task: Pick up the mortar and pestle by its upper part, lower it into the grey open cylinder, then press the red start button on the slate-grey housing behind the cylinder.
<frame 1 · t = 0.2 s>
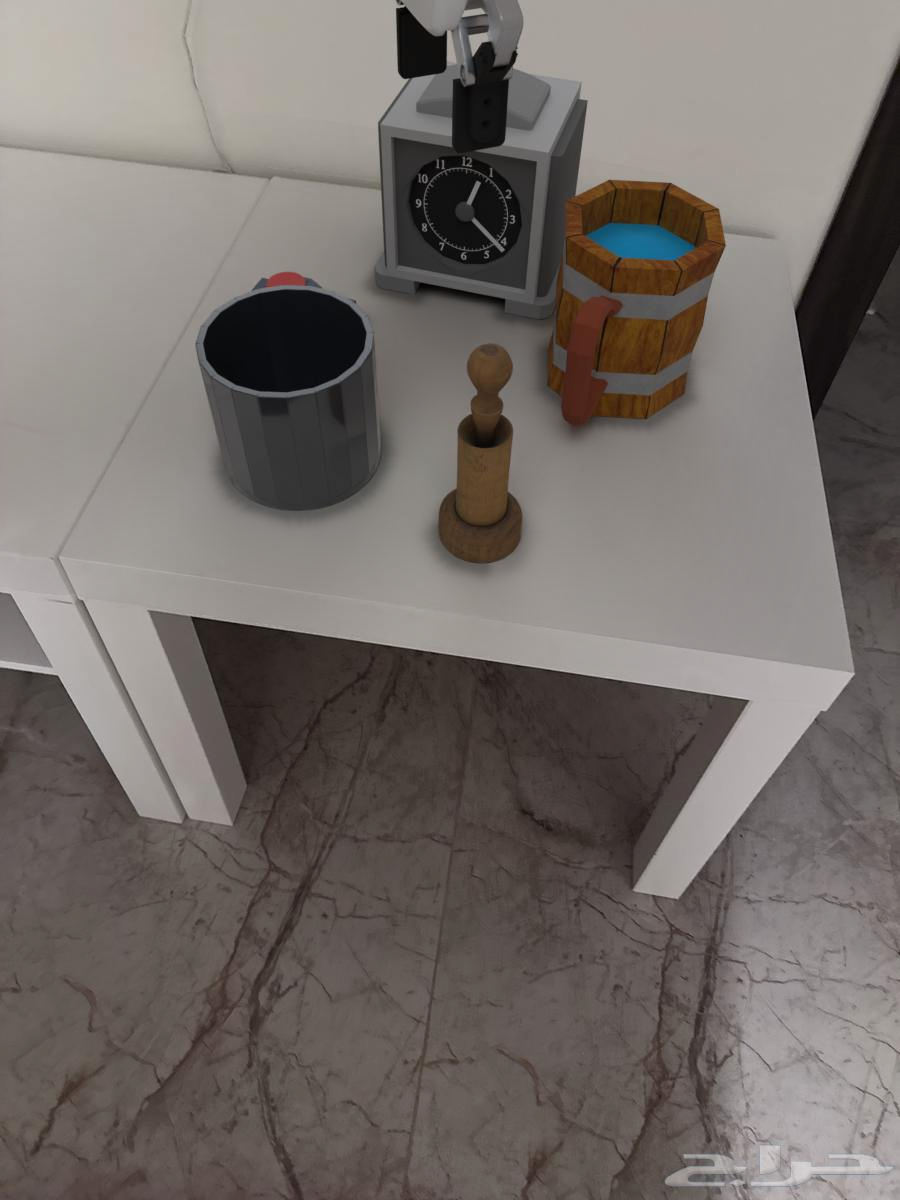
hand: (449, 109, 57), 28 cm above the table, tool pointing down, fingers open, 9 cm apart
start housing: (293, 331, 89), on the table
mug: (602, 392, 85), on the table
alarm clock: (477, 267, 96), on the table
mortar and pestle: (479, 533, 74), on the table
grey open cylinder: (303, 453, 79), on the table
start button: (287, 291, 85), point 4 cm above the table, slide at 0.1 cm
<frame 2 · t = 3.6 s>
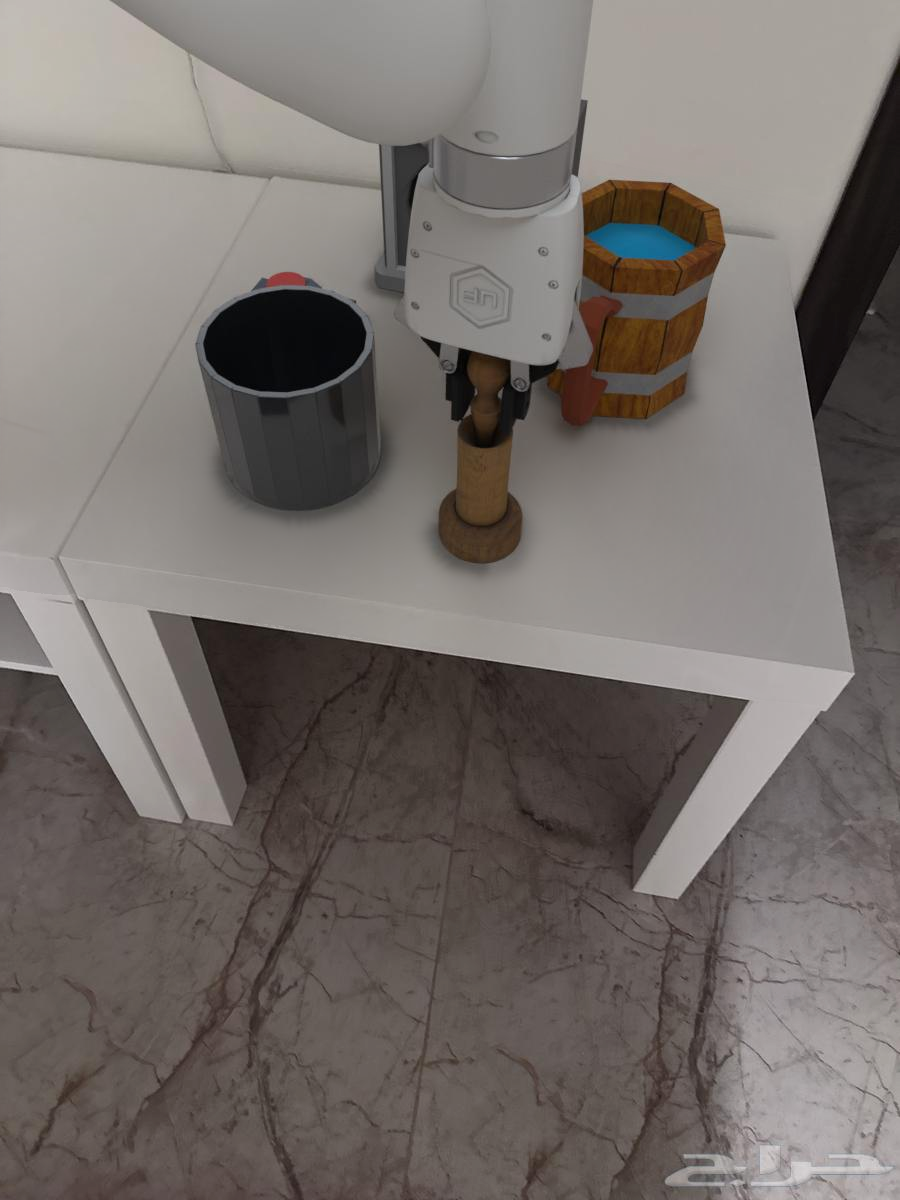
hand: (486, 413, 64), 13 cm above the table, tool pointing down, fingers closed on mortar and pestle, 2 cm apart
mortar and pestle: (479, 533, 74), on the table, touching gripper
everything else where it was.
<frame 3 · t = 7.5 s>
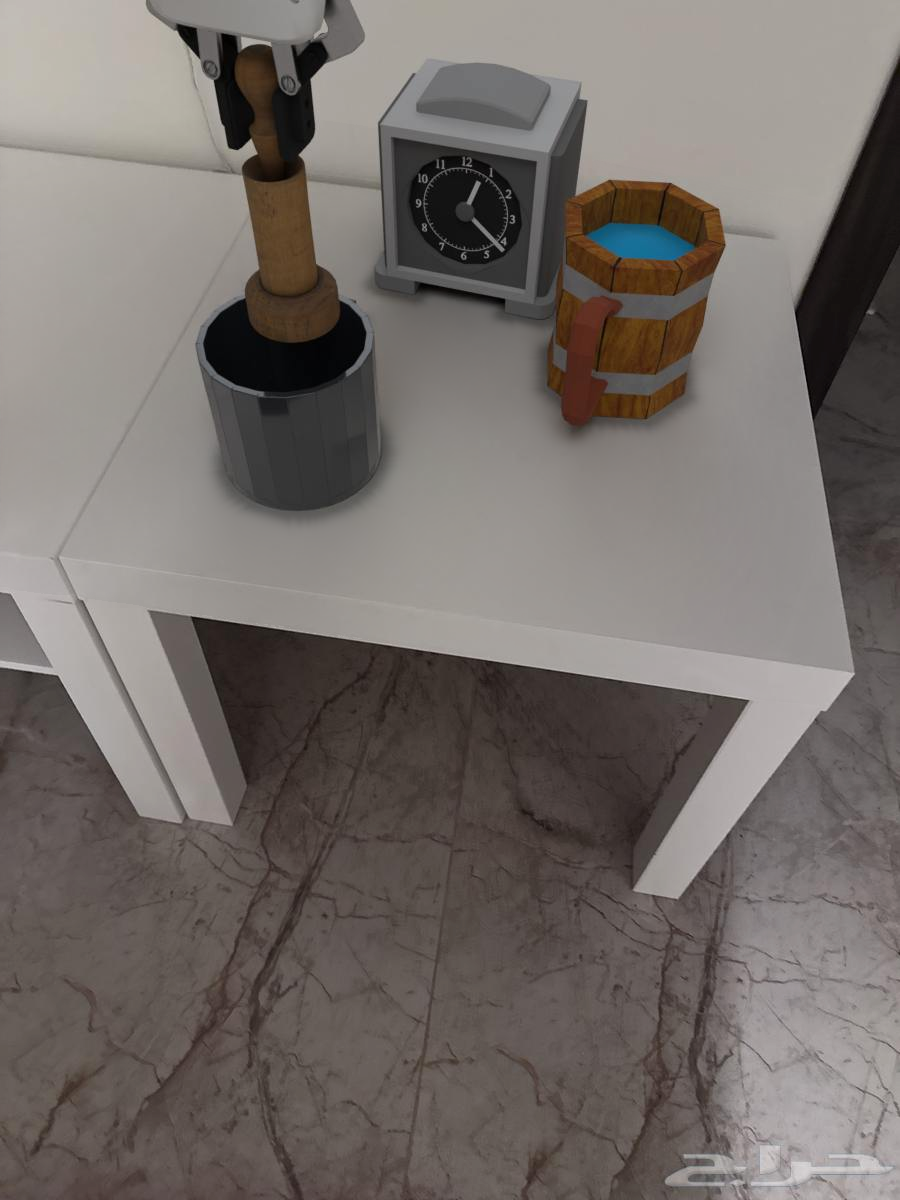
hand: (270, 142, 57), 27 cm above the table, tool pointing down, fingers closed on mortar and pestle, 2 cm apart
mortar and pestle: (295, 317, 67), point 14 cm above the table, touching gripper
everything else where it was.
when the fingers open (13 cm above the table, at t = 11.5 s): mortar and pestle stays where it is, resting on grey open cylinder.
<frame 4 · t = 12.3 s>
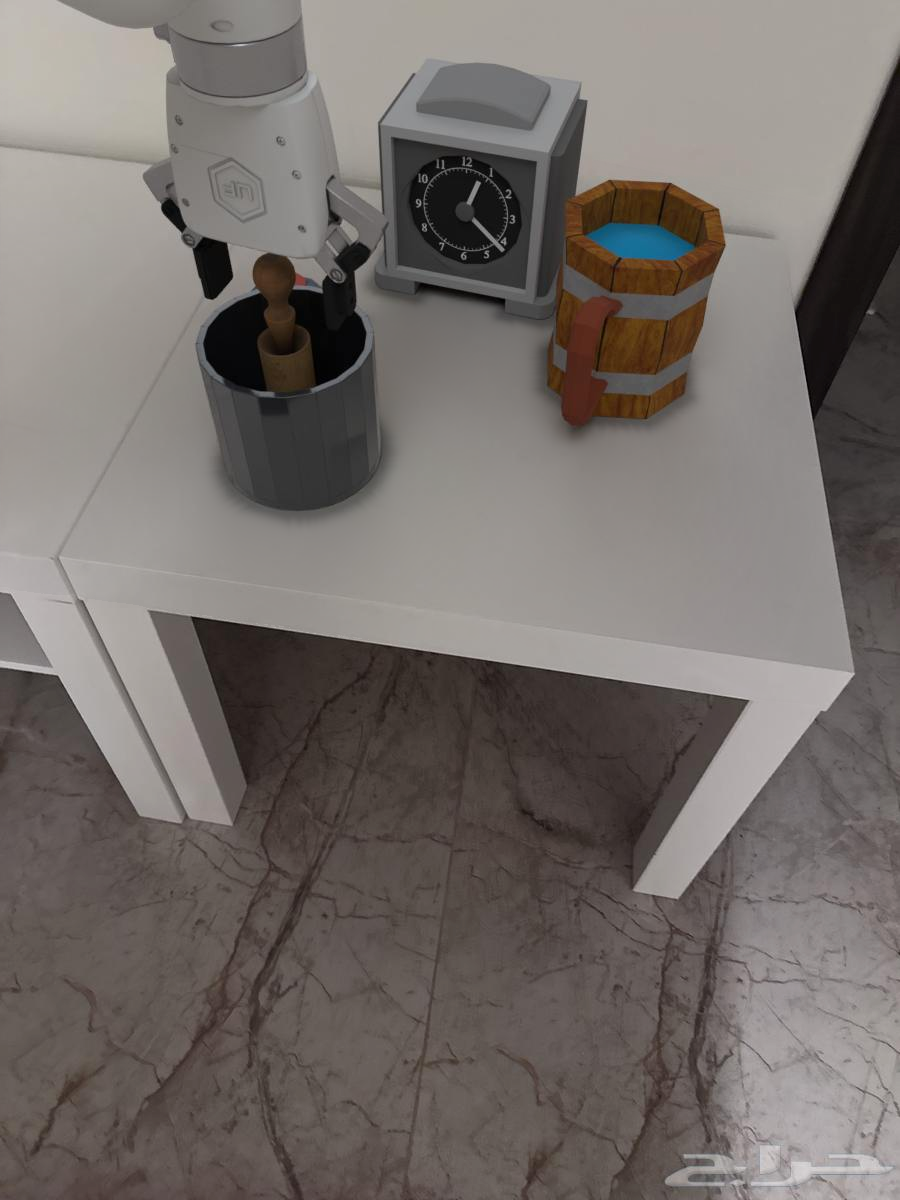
hand: (279, 303, 67), 15 cm above the table, tool pointing down, fingers open, 9 cm apart
mortar and pestle: (301, 448, 79), point 1 cm above the table, touching grey open cylinder
everything else where it was.
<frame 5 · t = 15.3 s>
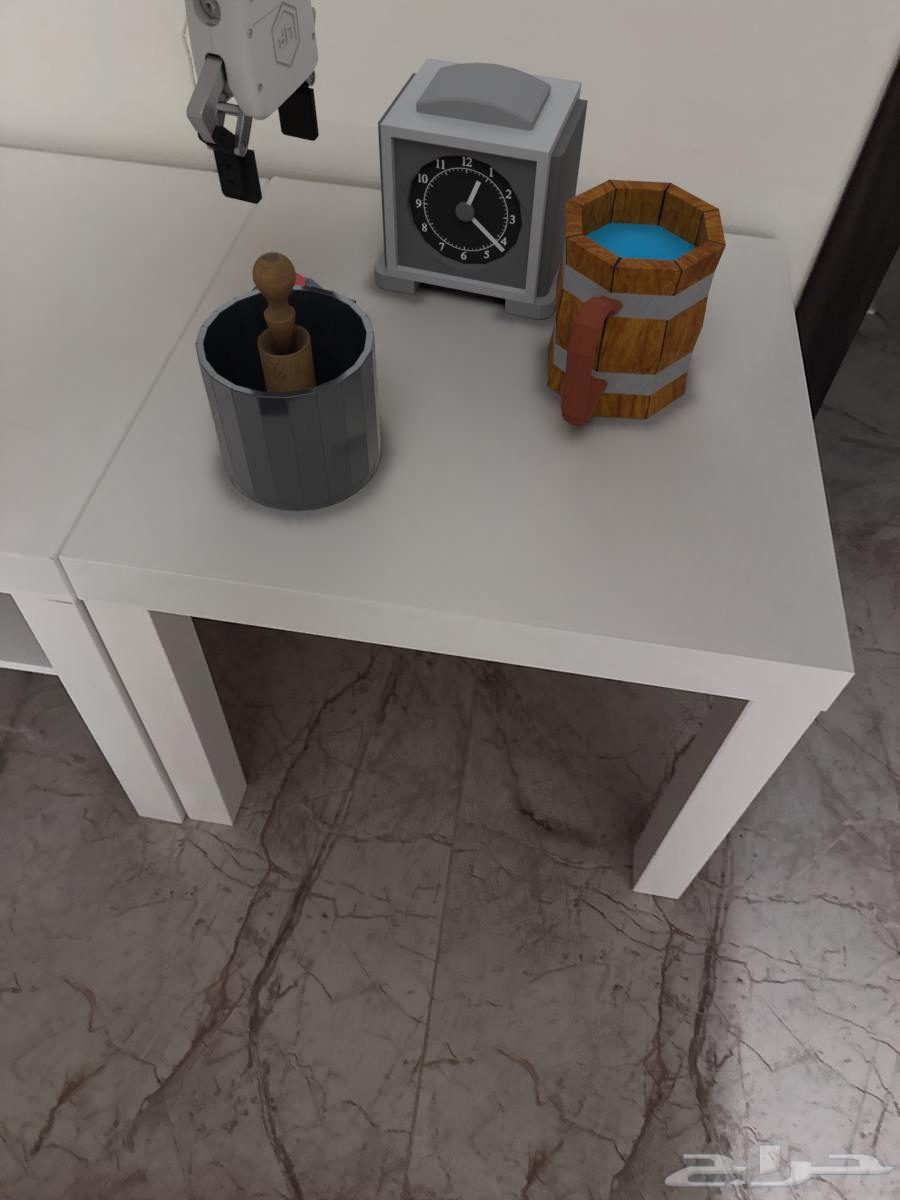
hand: (272, 166, 74), 17 cm above the table, tool pointing down, fingers open, 9 cm apart
nothing on the table moved.
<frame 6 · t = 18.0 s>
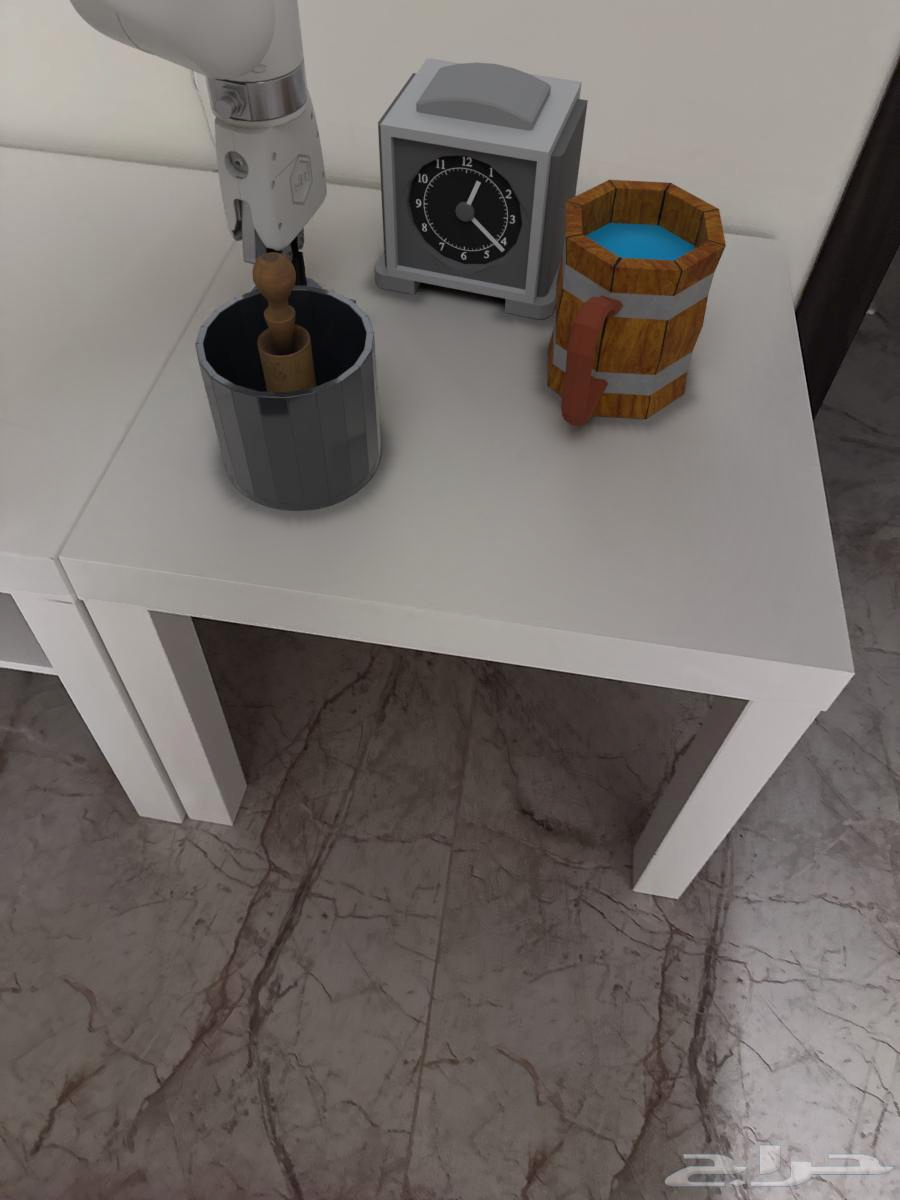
hand: (288, 291, 85), 4 cm above the table, tool pointing down, fingers closed
start button: (288, 300, 86), point 4 cm above the table, slide at -0.9 cm, touching gripper
everything else where it was.
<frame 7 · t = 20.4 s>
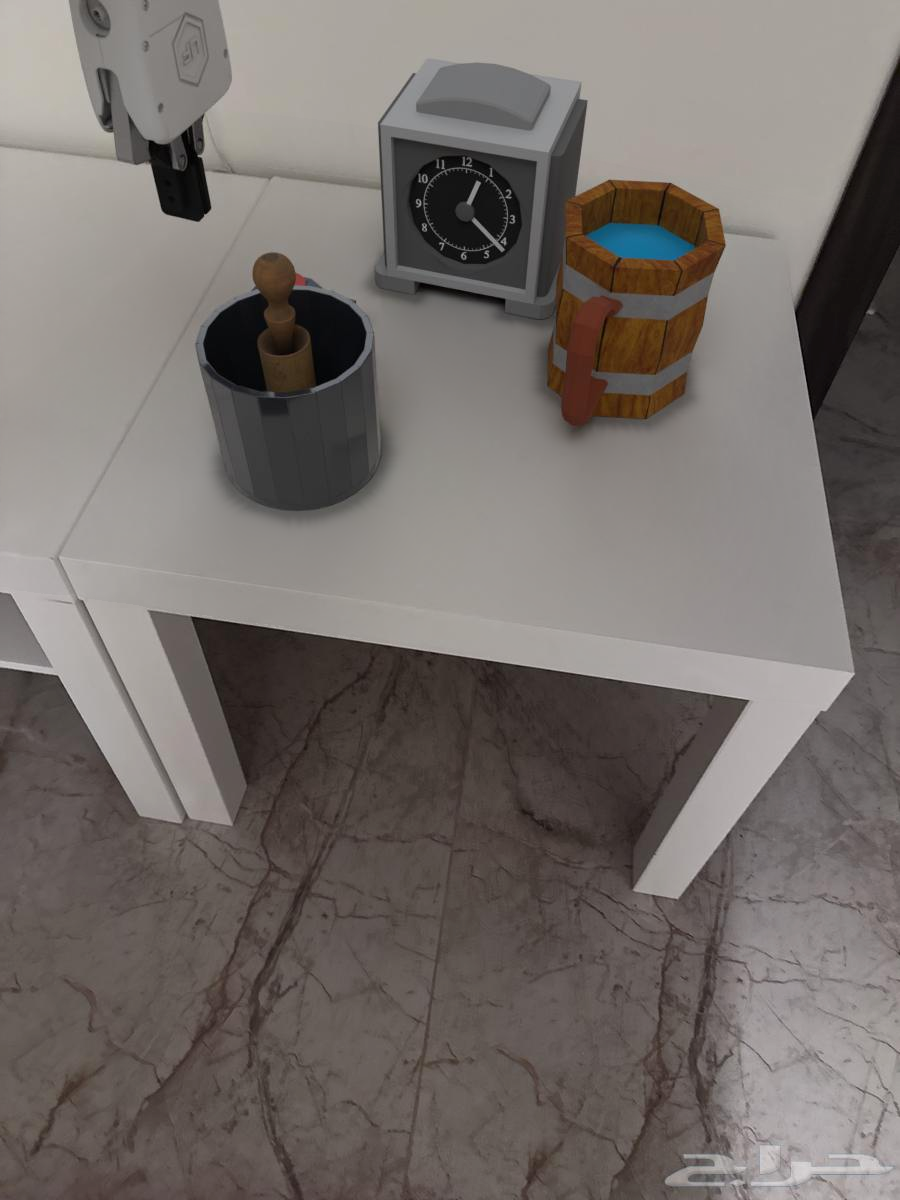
hand: (187, 212, 67), 19 cm above the table, tool pointing down, fingers closed
start button: (287, 291, 85), point 4 cm above the table, slide at 0.1 cm
everything else where it was.
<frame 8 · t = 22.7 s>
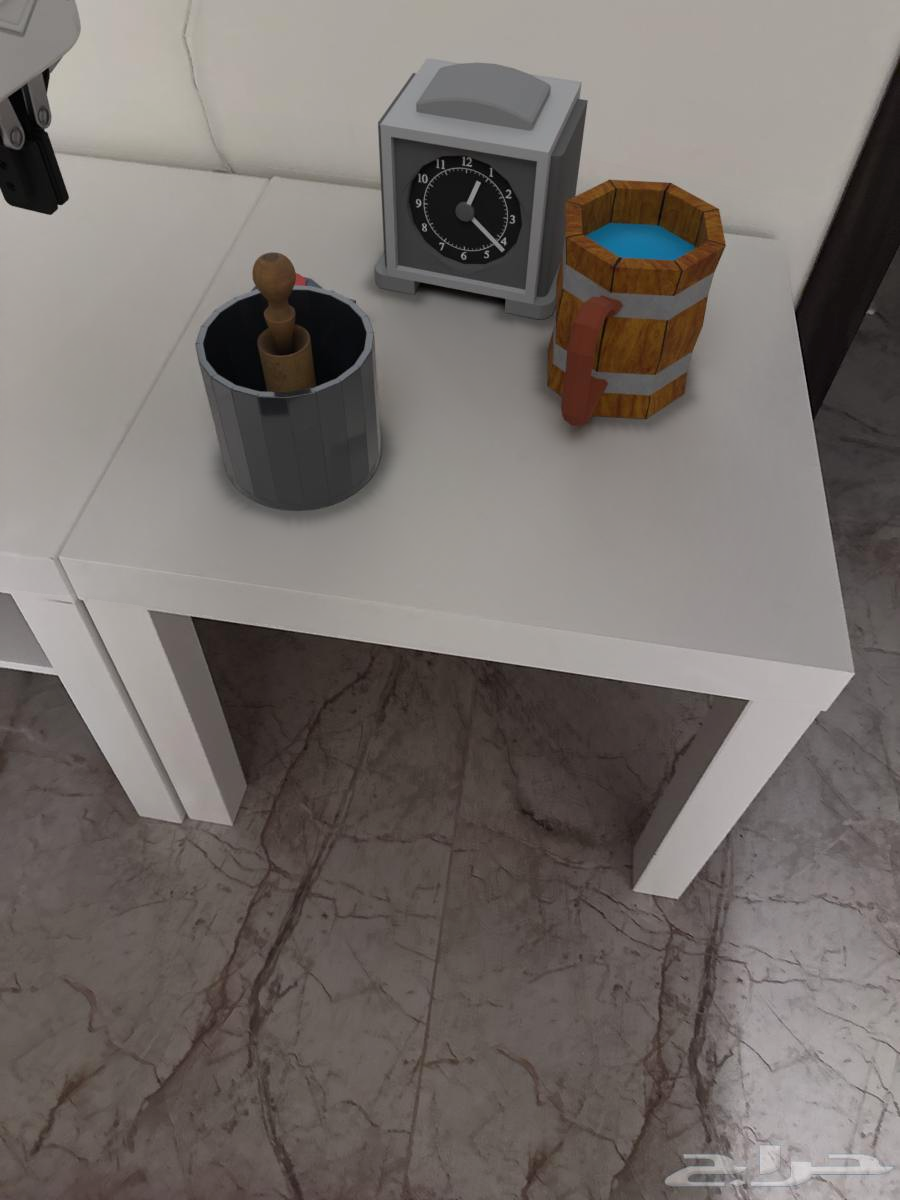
hand: (38, 202, 53), 27 cm above the table, tool pointing down, fingers closed
nothing on the table moved.
at the end: mortar and pestle 0.1 cm off-centre in the grey open cylinder, point 0.6 cm above the grey open cylinder's base; start button pushed in 1.1 cm at the most during the clip, back to where it started at the end; start button slide at 0.1 cm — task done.
